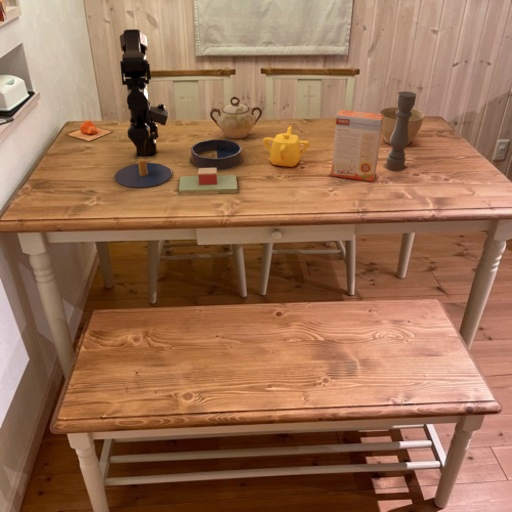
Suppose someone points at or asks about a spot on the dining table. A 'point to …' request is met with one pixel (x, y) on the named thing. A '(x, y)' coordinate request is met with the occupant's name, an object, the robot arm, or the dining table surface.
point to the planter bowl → (391, 119)
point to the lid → (143, 175)
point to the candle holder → (400, 131)
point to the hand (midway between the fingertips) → (144, 149)
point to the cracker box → (356, 145)
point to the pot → (226, 154)
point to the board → (223, 185)
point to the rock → (89, 131)
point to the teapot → (285, 149)
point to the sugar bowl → (236, 119)
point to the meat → (207, 176)
